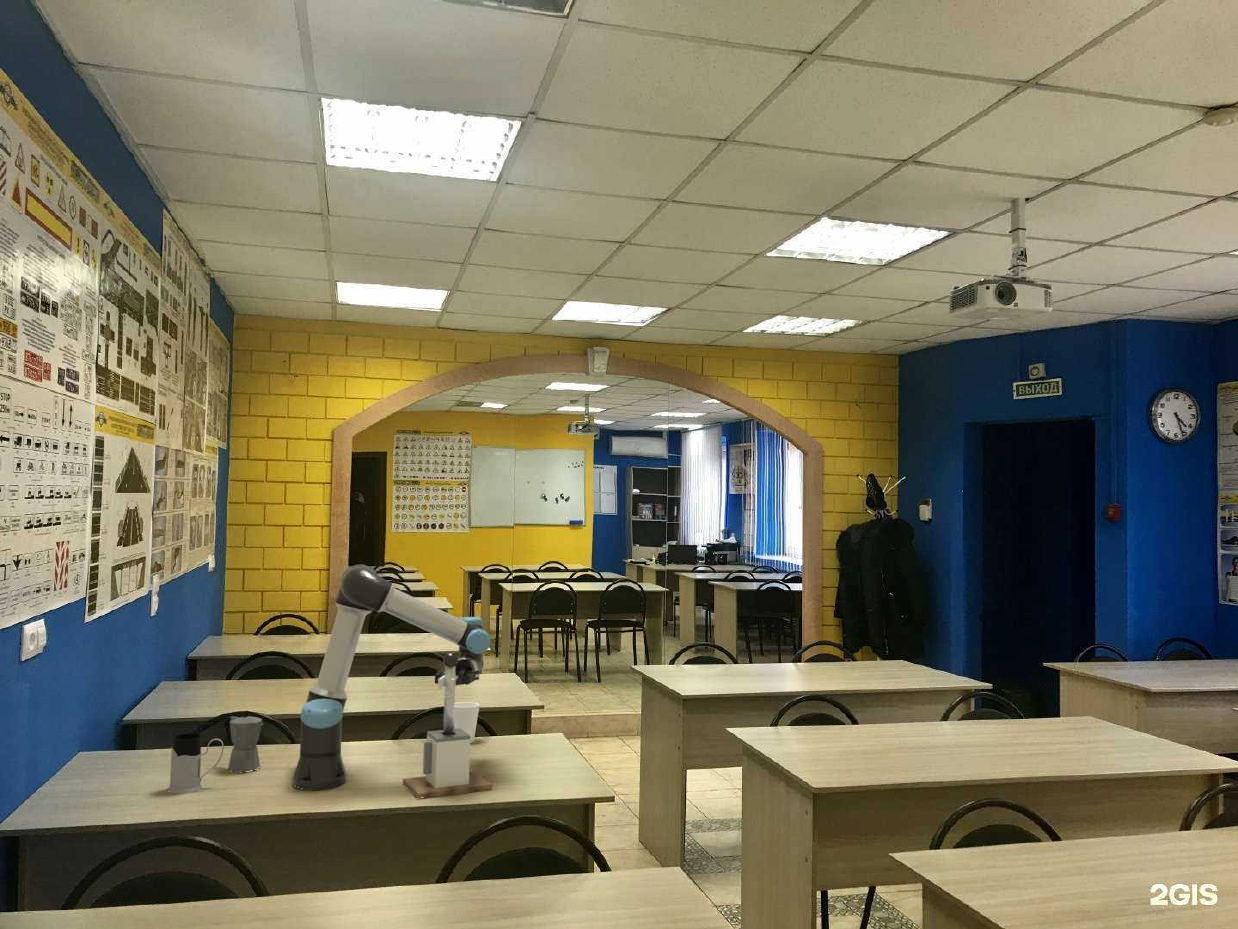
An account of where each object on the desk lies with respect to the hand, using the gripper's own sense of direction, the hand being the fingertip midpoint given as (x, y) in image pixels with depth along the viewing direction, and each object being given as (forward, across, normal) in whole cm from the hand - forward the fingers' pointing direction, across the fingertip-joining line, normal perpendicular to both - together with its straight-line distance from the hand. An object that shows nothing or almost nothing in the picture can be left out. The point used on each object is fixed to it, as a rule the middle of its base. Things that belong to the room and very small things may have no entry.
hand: (445, 684), depth 268 cm
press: (-5, +1, -29) cm, 30 cm away
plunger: (-5, 0, -18) cm, 19 cm away
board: (-5, 0, -31) cm, 31 cm away
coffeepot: (-16, +67, -31) cm, 76 cm away
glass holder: (+5, +71, -31) cm, 78 cm away
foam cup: (-59, +6, -31) cm, 67 cm away
